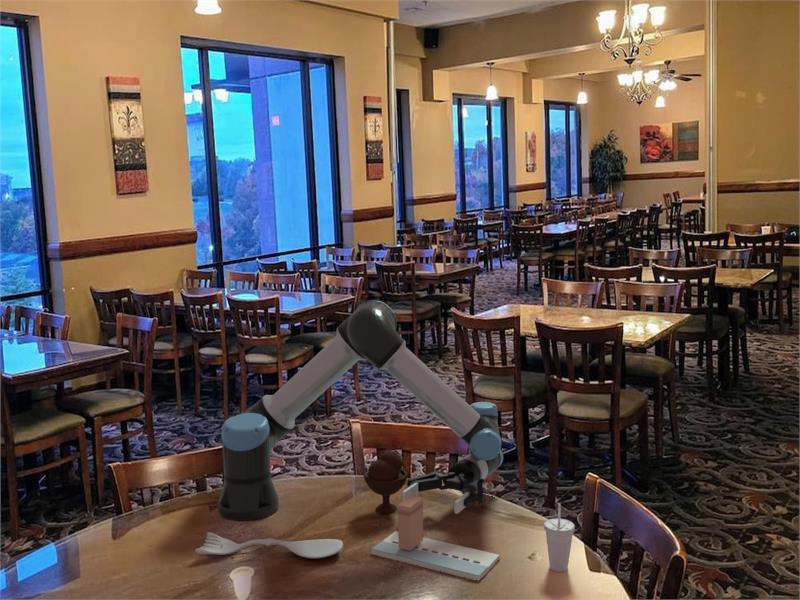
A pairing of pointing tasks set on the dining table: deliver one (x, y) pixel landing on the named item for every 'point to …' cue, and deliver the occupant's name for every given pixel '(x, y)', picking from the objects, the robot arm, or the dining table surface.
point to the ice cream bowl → (386, 479)
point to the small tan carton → (410, 522)
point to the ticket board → (439, 557)
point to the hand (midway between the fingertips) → (429, 502)
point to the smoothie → (559, 541)
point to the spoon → (300, 548)
